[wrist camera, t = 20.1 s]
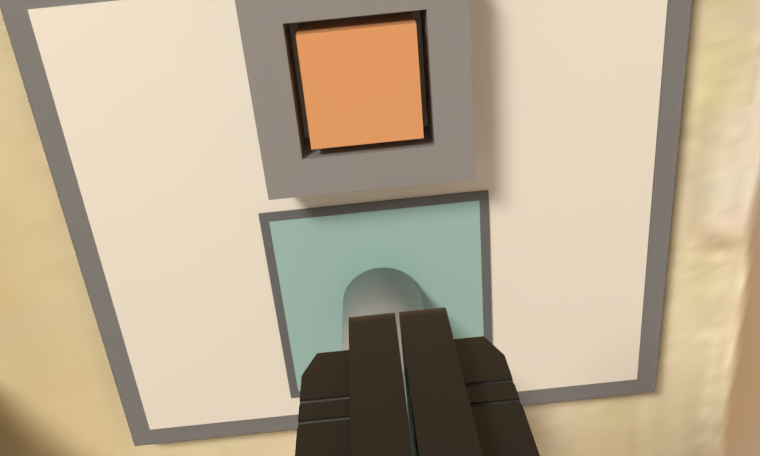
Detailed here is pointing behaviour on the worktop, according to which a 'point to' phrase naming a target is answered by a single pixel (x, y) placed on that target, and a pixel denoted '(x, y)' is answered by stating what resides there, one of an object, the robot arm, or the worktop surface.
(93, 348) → the worktop surface
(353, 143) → the button
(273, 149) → the drawing board
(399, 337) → the teal marker
